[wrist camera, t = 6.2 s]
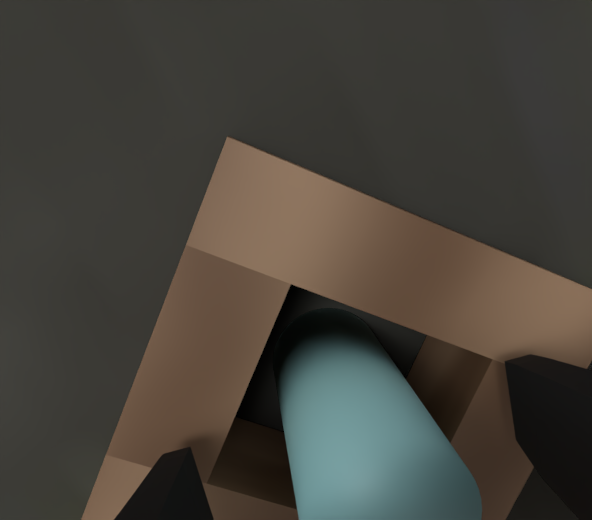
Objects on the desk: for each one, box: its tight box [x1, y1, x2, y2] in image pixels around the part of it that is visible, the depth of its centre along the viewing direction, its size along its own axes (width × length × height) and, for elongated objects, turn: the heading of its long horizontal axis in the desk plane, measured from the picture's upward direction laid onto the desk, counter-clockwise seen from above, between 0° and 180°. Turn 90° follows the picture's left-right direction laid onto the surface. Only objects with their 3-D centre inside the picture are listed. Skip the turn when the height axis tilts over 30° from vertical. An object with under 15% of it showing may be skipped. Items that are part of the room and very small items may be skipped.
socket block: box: [81, 136, 592, 520], centre depth 14 cm, size 10×10×4 cm
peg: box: [273, 308, 482, 520], centre depth 13 cm, size 3×3×7 cm
